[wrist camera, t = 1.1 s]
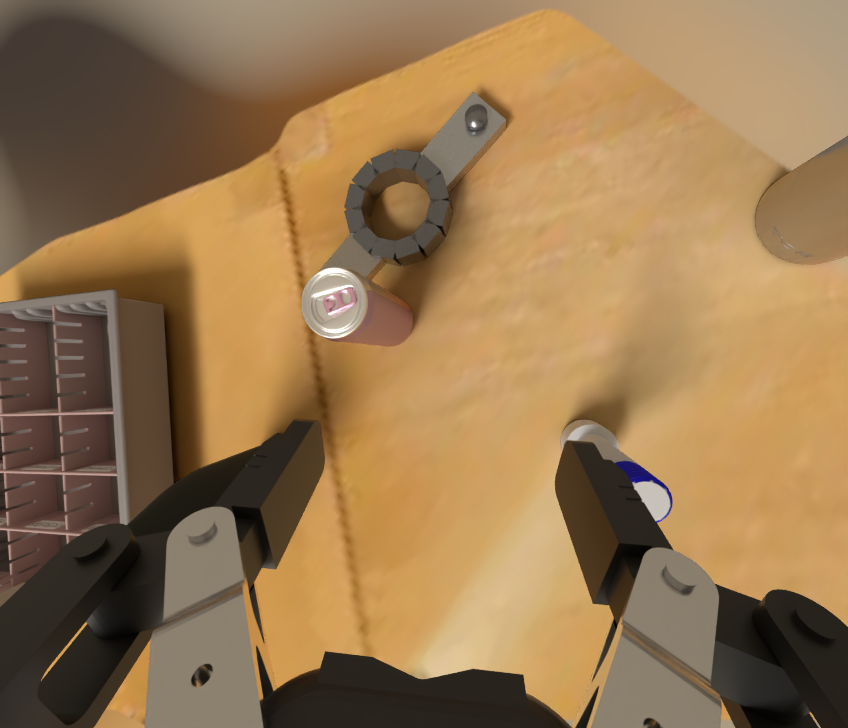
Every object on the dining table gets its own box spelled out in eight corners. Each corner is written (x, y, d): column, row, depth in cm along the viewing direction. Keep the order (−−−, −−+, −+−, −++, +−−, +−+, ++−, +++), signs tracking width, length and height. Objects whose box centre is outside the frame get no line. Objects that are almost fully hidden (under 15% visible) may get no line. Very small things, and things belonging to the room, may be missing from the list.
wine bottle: (253, 491, 46) (-186, 733, 16) (260, 433, 45) (-176, 576, 16) (306, 506, 44) (-75, 805, 15) (315, 446, 44) (-59, 633, 14)
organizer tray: (176, 299, 48) (95, 284, 38) (193, 580, 48) (116, 636, 38) (13, 316, 54) (-93, 308, 45) (28, 563, 55) (-73, 607, 45)
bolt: (564, 414, 37) (613, 424, 36) (555, 458, 37) (604, 469, 36) (612, 454, 22) (699, 473, 21) (597, 529, 22) (682, 550, 21)
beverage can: (421, 336, 40) (379, 324, 26) (377, 353, 42) (312, 351, 27) (404, 289, 41) (353, 251, 26) (361, 308, 42) (288, 282, 27)
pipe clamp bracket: (453, 84, 39) (449, 62, 36) (528, 148, 37) (530, 130, 34) (294, 272, 44) (279, 266, 41) (355, 336, 42) (344, 334, 39)
